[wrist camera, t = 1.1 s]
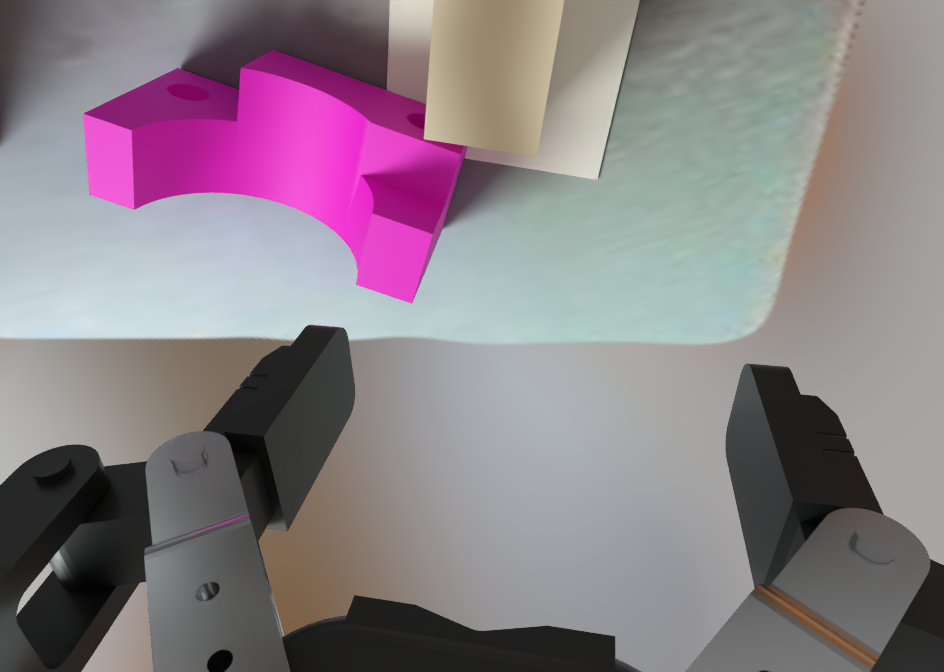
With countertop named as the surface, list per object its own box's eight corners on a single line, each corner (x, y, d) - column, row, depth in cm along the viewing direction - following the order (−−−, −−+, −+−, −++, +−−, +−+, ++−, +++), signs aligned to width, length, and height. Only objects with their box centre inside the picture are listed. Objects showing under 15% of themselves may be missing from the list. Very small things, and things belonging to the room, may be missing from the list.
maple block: (452, 95, 31) (423, 139, 25) (473, -134, 26) (443, -145, 20) (544, 109, 31) (536, 157, 25) (584, -119, 26) (586, -126, 20)
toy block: (475, 121, 31) (448, 181, 25) (442, 229, 35) (412, 303, 29) (178, 15, 30) (77, 51, 24) (177, 137, 34) (89, 194, 28)
